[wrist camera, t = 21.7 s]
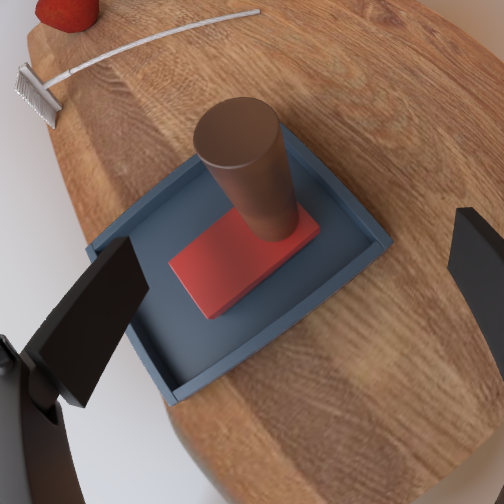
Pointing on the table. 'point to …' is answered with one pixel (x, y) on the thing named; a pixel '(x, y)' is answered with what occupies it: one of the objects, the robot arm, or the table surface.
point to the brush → (44, 98)
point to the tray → (258, 301)
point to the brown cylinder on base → (243, 207)
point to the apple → (68, 14)
